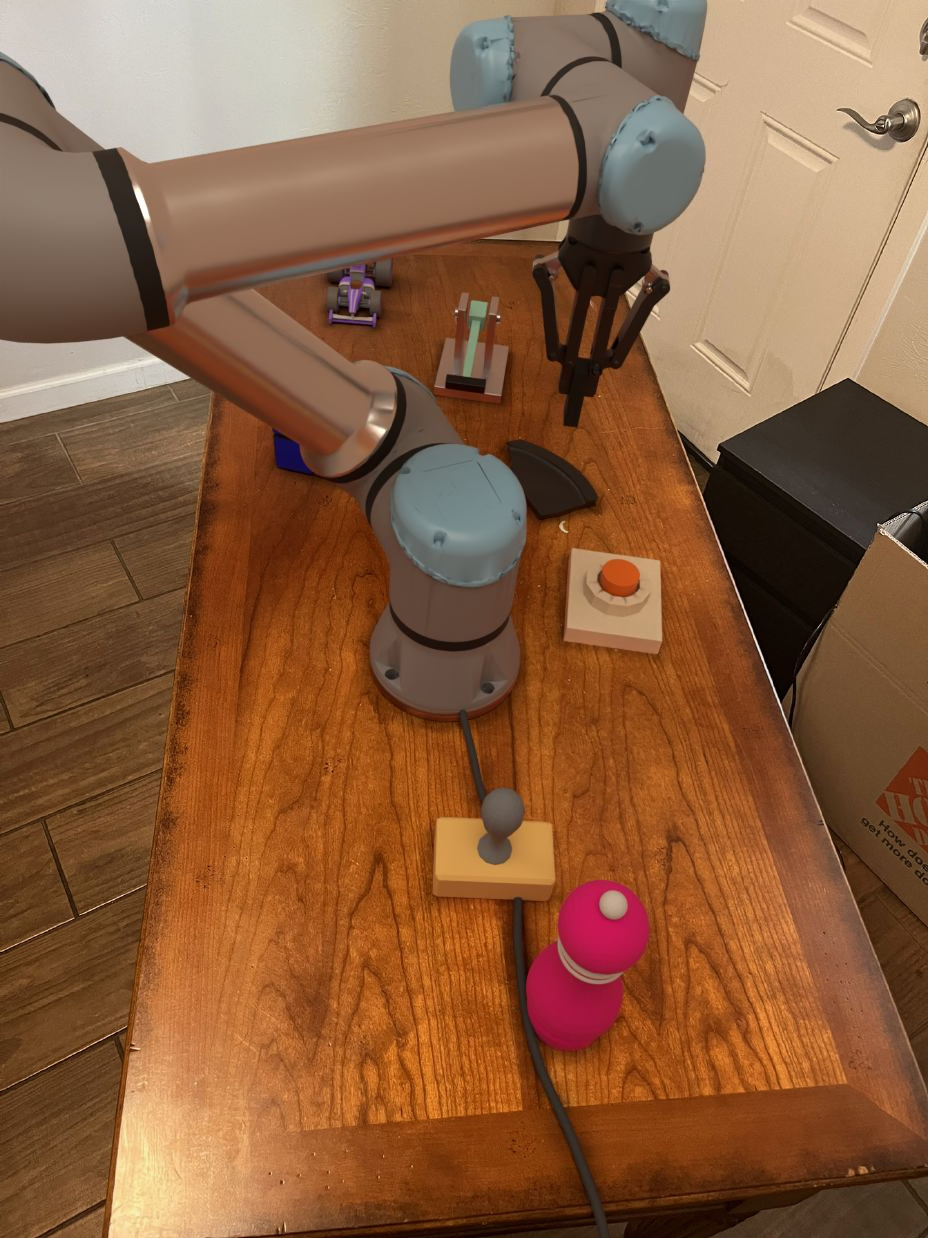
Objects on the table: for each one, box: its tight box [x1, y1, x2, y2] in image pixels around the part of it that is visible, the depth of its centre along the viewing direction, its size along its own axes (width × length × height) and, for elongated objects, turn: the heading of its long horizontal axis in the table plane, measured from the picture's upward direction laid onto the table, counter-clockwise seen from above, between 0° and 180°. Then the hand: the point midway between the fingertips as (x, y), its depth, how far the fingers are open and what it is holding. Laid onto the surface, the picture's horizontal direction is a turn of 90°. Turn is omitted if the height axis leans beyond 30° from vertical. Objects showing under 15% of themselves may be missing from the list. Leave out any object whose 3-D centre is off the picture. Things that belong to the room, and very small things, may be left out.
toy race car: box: [326, 258, 394, 329], centre depth 138 cm, size 10×15×6 cm, turn 179°
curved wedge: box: [504, 438, 599, 520], centre depth 116 cm, size 8×14×2 cm, turn 23°
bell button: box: [599, 559, 640, 597], centre depth 100 cm, size 4×4×2 cm
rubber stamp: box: [432, 787, 556, 902], centre depth 77 cm, size 10×6×12 cm, turn 90°
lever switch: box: [433, 291, 510, 405], centre depth 126 cm, size 12×9×11 cm
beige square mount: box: [563, 547, 663, 655], centre depth 101 cm, size 12×10×4 cm
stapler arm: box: [445, 300, 489, 394], centre depth 120 cm, size 14×5×2 cm, turn 173°
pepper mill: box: [526, 879, 651, 1052], centre depth 66 cm, size 7×7×20 cm
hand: (570, 418), depth 98 cm, fingers closed
